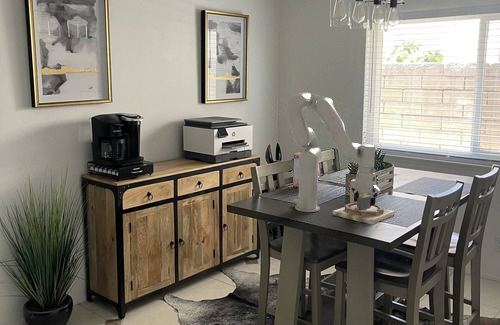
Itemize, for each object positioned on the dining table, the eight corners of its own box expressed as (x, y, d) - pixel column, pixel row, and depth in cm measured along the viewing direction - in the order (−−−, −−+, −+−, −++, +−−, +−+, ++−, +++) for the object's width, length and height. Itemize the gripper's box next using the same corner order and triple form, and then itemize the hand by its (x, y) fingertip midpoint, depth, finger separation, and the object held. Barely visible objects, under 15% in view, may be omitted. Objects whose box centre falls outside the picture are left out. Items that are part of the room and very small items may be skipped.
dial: (360, 205, 264) (361, 191, 263) (383, 210, 254) (384, 197, 253) (343, 209, 255) (344, 196, 254) (367, 216, 245) (368, 202, 243)
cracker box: (316, 189, 307) (317, 154, 303) (309, 190, 303) (311, 156, 299) (299, 184, 317) (300, 151, 313) (292, 186, 313) (293, 152, 309)
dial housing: (332, 214, 254) (333, 206, 254) (356, 206, 270) (356, 198, 269) (371, 224, 240) (372, 215, 239) (394, 214, 255) (395, 206, 254)
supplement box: (367, 204, 275) (368, 180, 272) (363, 206, 271) (365, 182, 268) (352, 201, 279) (354, 178, 277) (349, 203, 275) (350, 179, 273)
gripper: (385, 171, 247) (383, 205, 250) (356, 166, 259) (354, 198, 263) (376, 173, 242) (374, 208, 245) (347, 167, 254) (345, 201, 258)
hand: (364, 203), depth 254 cm, fingers open, 9 cm apart
